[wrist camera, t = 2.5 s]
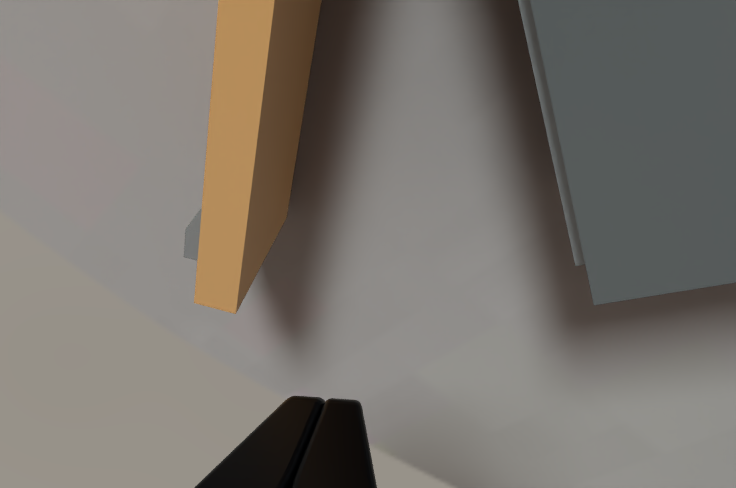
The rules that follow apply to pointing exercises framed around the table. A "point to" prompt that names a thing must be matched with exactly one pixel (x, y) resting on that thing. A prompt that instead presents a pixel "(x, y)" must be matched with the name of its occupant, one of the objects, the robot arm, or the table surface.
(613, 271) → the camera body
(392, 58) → the table surface
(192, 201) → the table surface
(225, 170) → the side door
